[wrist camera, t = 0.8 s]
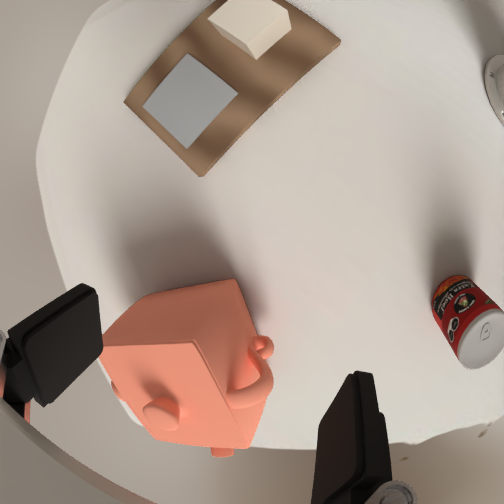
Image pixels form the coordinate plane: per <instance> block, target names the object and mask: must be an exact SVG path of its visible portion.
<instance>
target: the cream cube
mask: <svg viewBox="0 0 504 504" xmlns="http://www.w3.org/2000/svg"><path fill="white" fill-rule="evenodd" d="M207 19H208V20H209V21H210V22H211V23H212V25H213V26H214V27H215V28H216V29H217V30H218V32H219V33H220V34H221V35H222V36H224V37H225V38H227V39H228V40H229V41H231V42H232V43H234V44H235V45H237V46H238V47H239V48H241V49H242V50H243V51H245V52H246V53H248V54H249V55H250V56H252V57H253V58H254V59H256V60H257V59H258V58H259V57H260V56H261V55H262V54H263V53H265V52H266V51H267V50H268V49H269V48H270V47H271V46H272V45H274V44H275V43H276V42H277V41H278V40H279V39H281V38H282V37H283V36H284V35H285V34H287V33H288V32H289V31H290V30H291V29H292V28H291V24H290V19H289V15H288V11H287V9H285V8H283V7H282V6H280V5H279V4H277V3H275V2H274V1H272V0H228V1H227V2H226V3H224V4H223V5H222V6H221V7H220V8H219V9H217V10H216V11H215V12H214V13H213V14H212V15H211V16H210V17H209V18H207Z"/></svg>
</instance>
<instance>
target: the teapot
mask: <svg viewBox="0 0 504 504" xmlns="http://www.w3.org/2000/svg"><path fill="white" fill-rule="evenodd" d="M102 339H103V351H102V353H101V355H100V356H99V359H100V361H101V362H102V364H103V366H104V368H105V370H106V371H107V373H108V375H109V376H110V378H111V380H112V381H111V385H112V389H113V391H114V393H115V394H116V395H117V397H118V398H119V399H121V400H123V401H125V402H126V403H127V404H128V406H129V407H130V408H131V410H132V411H133V413H134V414H135V415H136V417H137V418H138V419H139V421H140V422H141V423H142V424H143V426H144V427H145V428H146V429H147V430H148V432H149V433H150V434H151V435H152V436H153V437H154V438H155V439H156V440H161V441H167V442H173V443H179V444H186V445H194V446H205V447H211V453H212V456H215V457H227V456H232V455H234V448H239V449H247V448H249V447H250V444H251V442H252V439H253V437H254V434H255V432H256V429H257V426H258V424H259V421H260V418H261V415H262V412H263V409H264V406H265V402H266V399H267V396H268V395H269V394H270V392H271V391H272V388H273V375H272V372H271V369H270V368H269V366H268V364H267V363H266V361H265V359H266V358H268V357H270V356H271V355H272V353H273V351H274V345H273V342H272V340H271V339H270V338H269V337H267V336H262V335H257V333H256V330H255V327H254V324H253V322H252V319H251V316H250V314H249V311H248V308H247V306H246V303H245V300H244V298H243V295H242V293H241V290H240V288H239V286H238V283H237V282H236V280H235V279H228V280H222V281H216V282H211V283H205V284H200V285H194V286H189V287H183V288H178V289H173V290H168V291H163V292H158V293H153V294H149V295H146V296H145V297H143V298H141V299H140V300H138V301H137V302H136V303H134V304H133V305H132V306H131V307H130V308H129V309H128V310H127V311H125V312H124V313H123V314H122V315H121V316H120V317H119V318H118V319H117V320H116V321H115V322H114V323H113V324H112V325H111V326H110V327H109V329H108V330H107V331H106V332H105V333H104V334H103V335H102Z"/></svg>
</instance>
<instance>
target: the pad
mask: <svg viewBox="0 0 504 504" xmlns="http://www.w3.org/2000/svg"><path fill="white" fill-rule="evenodd" d="M237 94H238V93H237V92H236V91H235V90H234V89H233V88H231V87H230V86H229V85H228V84H226V83H225V82H224V81H223V80H222V79H220V78H219V77H218V76H217V75H215V74H214V73H213V72H211V71H210V70H209V69H208V68H206V67H205V66H204V65H202V64H201V63H200V62H199V61H197V60H196V59H195V58H193V57H192V56H190V55H189V54H188V53H187V54H186V55H185V56H184V58H183V59H182V60H181V61H180V62H179V63H178V64H177V65H176V66H175V67H174V69H173V70H172V71H171V72H170V73H169V74H168V75H167V77H166V78H165V79H164V80H163V81H162V83H161V84H160V85H159V86H158V87H157V89H156V90H155V91H154V92H153V94H152V95H151V96H150V97H149V99H148V100H147V101H146V102H145V104H144V105H143V106H142V107H143V108H144V109H145V110H146V111H148V112H149V113H150V114H151V115H152V116H153V117H154V118H155V119H156V120H157V121H158V122H159V123H160V124H161V125H162V126H163V127H164V128H165V129H166V130H167V131H169V132H170V133H171V134H172V135H173V136H174V137H175V138H176V139H177V140H178V141H179V142H180V143H181V144H182V145H183V146H184V147H185V148H186V149H188V148H189V147H190V146H191V144H192V143H193V142H194V141H195V140H196V139H197V137H198V136H199V135H200V134H201V133H202V132H203V131H204V130H205V128H206V127H207V126H208V125H209V124H210V123H211V122H212V121H213V120H214V119H215V117H216V116H217V115H218V114H219V113H220V112H221V111H222V110H223V109H224V108H225V107H226V106H227V105H228V104H229V103H230V102H231V101H232V99H233V98H234V97H235V96H236V95H237Z"/></svg>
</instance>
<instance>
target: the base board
mask: <svg viewBox="0 0 504 504" xmlns="http://www.w3.org/2000/svg"><path fill="white" fill-rule="evenodd" d="M227 1H228V0H216V1H215V2H214V3H212V4H211V5H210V6H209V7H208V8H207V9H206V10H205V11H203V12H202V13H201V14H200V15H199V16H198V17H197V18H196V19H195V20H194V21H193V22H192V23H191V24H190V25H189V26H188V27H187V28H186V29H185V30H184V31H183V32H182V33H181V34H180V35H179V36H178V37H177V38H176V39H175V40H174V41H173V42H172V43H171V44H170V45H169V46H168V48H167V49H166V50H165V51H164V52H163V53H162V54H161V55H160V57H159V58H158V59H157V60H156V61H155V62H154V63H153V65H152V66H151V67H150V68H149V69H148V71H147V72H146V73H145V74H144V76H143V77H142V78H141V79H140V81H139V82H138V83H137V85H136V86H135V87H134V88H133V90H132V91H131V92H130V94H129V95H128V96H127V98H126V99H125V101H124V103H125V104H126V105H127V106H128V107H129V108H130V109H131V110H132V111H133V112H134V113H135V114H136V115H137V116H138V117H139V118H140V119H141V120H142V121H143V122H144V123H145V124H146V125H147V126H148V127H149V128H150V129H151V130H152V131H153V132H154V133H155V134H156V135H157V136H158V137H159V138H160V139H161V140H162V141H163V142H165V143H166V144H167V145H168V146H169V147H170V148H171V149H172V150H173V151H174V152H175V153H176V154H177V155H178V156H179V157H180V158H181V159H182V160H183V161H184V162H185V163H186V164H187V165H188V166H189V167H190V168H191V169H192V170H193V171H194V172H195V173H196V174H197V175H198V176H199V177H202V176H204V175H205V174H206V173H207V172H208V171H209V170H210V169H211V168H212V167H213V165H214V164H215V163H216V162H217V161H218V160H219V159H220V158H221V157H222V156H223V155H224V153H225V152H226V151H227V150H228V149H229V148H230V147H231V146H232V145H233V144H234V143H235V142H236V141H237V140H238V139H239V138H240V137H241V135H242V134H243V133H244V132H245V131H246V130H247V129H248V128H249V127H250V126H251V125H252V124H253V123H254V122H255V121H256V120H257V119H258V118H259V117H260V116H261V115H262V114H263V113H264V112H265V111H266V110H267V109H268V108H269V107H270V106H272V105H273V104H274V103H275V102H276V101H277V100H278V99H279V98H280V97H281V96H282V95H283V94H284V93H285V92H286V91H287V90H288V89H290V88H291V87H292V86H293V85H294V84H295V83H296V82H297V81H298V80H299V79H301V78H302V77H303V76H304V75H305V74H306V73H307V72H308V71H310V70H311V69H312V68H313V67H314V66H315V65H316V64H318V63H319V62H320V61H321V60H322V59H323V58H325V57H326V56H327V55H328V54H329V53H331V52H332V51H333V50H334V49H335V48H337V47H338V46H339V45H340V43H341V40H340V39H339V38H338V37H337V36H335V35H334V34H333V33H332V32H330V31H329V30H328V29H326V28H325V27H324V26H322V25H321V24H320V23H318V22H317V21H315V20H314V19H313V18H311V17H310V16H308V15H307V14H305V13H304V12H302V11H301V10H299V9H298V8H296V7H295V6H293V5H292V4H290V3H288V2H287V1H285V0H272V1H274V2H275V3H277V4H279V5H280V6H282V7H283V8H285V9H287V11H288V15H289V19H290V24H291V28H292V29H291V30H290V31H289V32H288V33H287V34H285V35H284V36H283V37H282V38H281V39H279V40H278V41H277V42H276V43H275V44H274V45H272V46H271V47H270V48H269V49H268V50H267V51H266V52H265V53H263V54H262V55H261V56H260V57H259V58H258V59H257V60H256V59H254V58H253V57H252V56H250V55H249V54H248V53H246V52H245V51H243V50H242V49H241V48H239V47H238V46H237V45H235V44H234V43H232V42H231V41H229V40H228V39H227V38H225V37H224V36H222V35H221V34H220V33H219V32H218V30H217V29H216V28H215V27H214V26H213V25H212V23H211V22H210V21H209V20H208V19H207V18H209V17H210V16H211V15H212V14H213V13H214V12H215V11H216V10H217V9H219V8H220V7H221V6H222V5H223V4H224V3H226V2H227ZM187 53H188V54H189V55H190V56H192V57H193V58H195V59H196V60H197V61H199V62H200V63H201V64H202V65H204V66H205V67H206V68H208V69H209V70H210V71H211V72H213V73H214V74H215V75H217V76H218V77H219V78H220V79H222V80H223V81H224V82H225V83H226V84H228V85H229V86H230V87H231V88H233V89H234V90H235V91H236V92H237V93H238V94H237V95H236V96H235V97H234V98H233V99H232V101H231V102H230V103H229V104H228V105H227V106H226V107H225V108H224V109H223V110H222V111H221V112H220V113H219V114H218V115H217V116H216V117H215V119H214V120H213V121H212V122H211V123H210V124H209V125H208V126H207V127H206V128H205V130H204V131H203V132H202V133H201V134H200V135H199V136H198V137H197V139H196V140H195V141H194V142H193V143H192V144H191V146H190V147H189V148H188V149H186V148H185V147H184V146H183V145H182V144H181V143H180V142H179V141H178V140H177V139H176V138H175V137H174V136H173V135H172V134H171V133H170V132H169V131H167V130H166V129H165V128H164V127H163V126H162V125H161V124H160V123H159V122H158V121H157V120H156V119H155V118H154V117H153V116H152V115H151V114H150V113H149V112H148V111H146V110H145V109H144V108H143V107H142V106H143V105H144V104H145V102H146V101H147V100H148V99H149V97H150V96H151V95H152V94H153V92H154V91H155V90H156V89H157V87H158V86H159V85H160V84H161V83H162V81H163V80H164V79H165V78H166V77H167V75H168V74H169V73H170V72H171V71H172V70H173V69H174V67H175V66H176V65H177V64H178V63H179V62H180V61H181V60H182V59H183V58H184V56H185V55H186V54H187Z"/></svg>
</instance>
